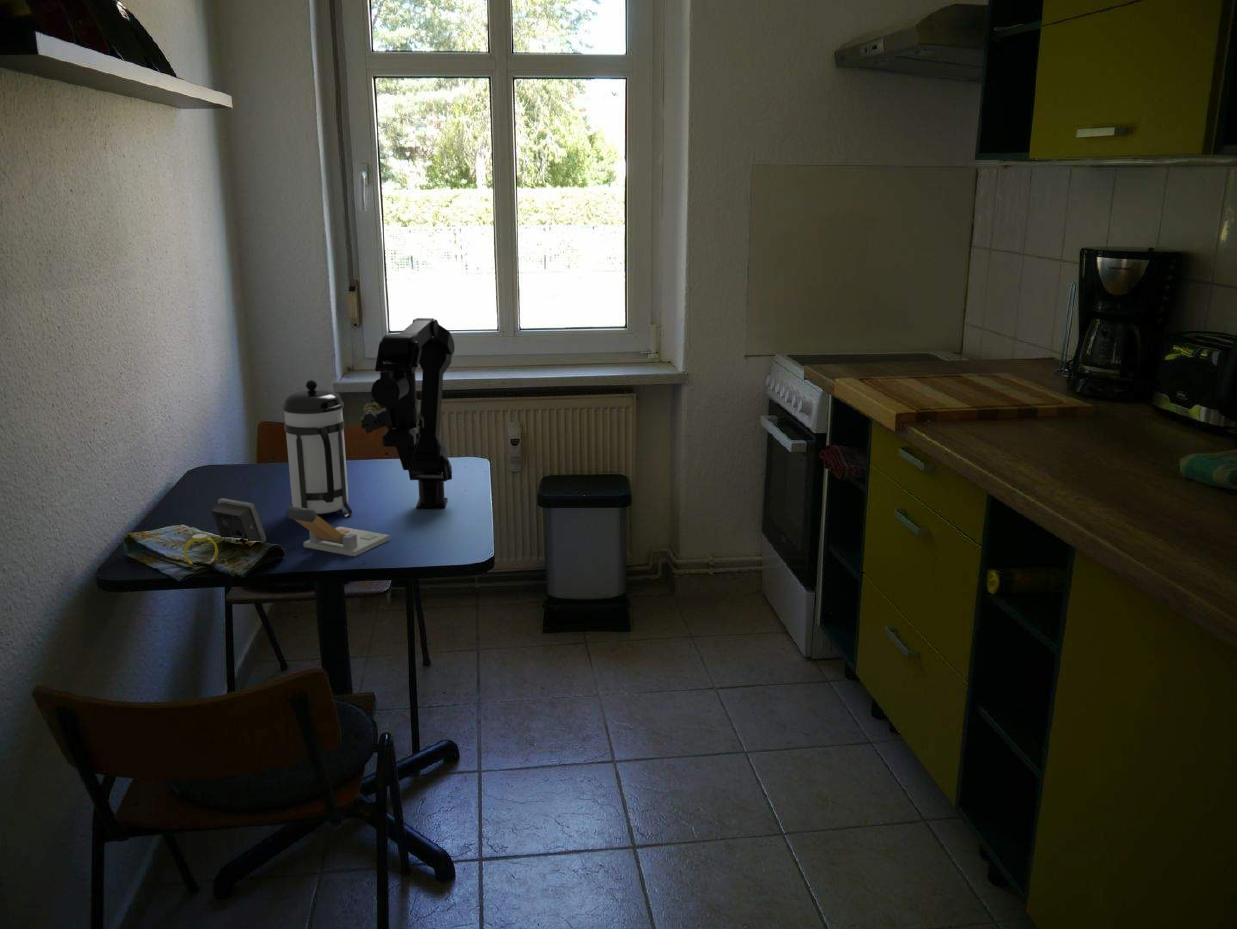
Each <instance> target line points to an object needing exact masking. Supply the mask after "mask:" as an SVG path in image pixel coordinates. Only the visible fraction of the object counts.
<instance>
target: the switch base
mask: <svg viewBox="0 0 1237 929" xmlns="http://www.w3.org/2000/svg"><path fill="white" fill-rule="evenodd" d="M334 528H335V529H336V530H337V531H339V532H340V533H341V534H345V535H346V536H344V537H343V544H338V543H332V542H327V541H321V540H319V539H318V536H316V535H315V534H313V533H312V532H311V531H309V530H308V533H309V539H308V540H305V541H303V543H302V544H303V547H304V548H307V549H308V548H309V549H313V550H318V551H319V550H320V551H325V552H329V553H334V554H339V555H344V556H345V555H346V556H349V557H350V556H351V557H356V556H358V555H361V554H363V553H366V552H367V551H370V550H371V549H373V548H376V547H377V546H380V545H382V544H384V543H385V542H388V541H390V540H391V537H390V536H391V535H389V534H384V533H380V532H379V533H378V532H373V531H367V530H362V529H358V528H357V529H356V528H350V527H346V526H338V527H334Z"/></svg>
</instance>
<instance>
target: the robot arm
mask: <svg viewBox="0 0 1237 929" xmlns="http://www.w3.org/2000/svg"><path fill="white" fill-rule="evenodd" d="M454 353H455V341H454V338H453V336H452V334H451V331H450V330H448V329H446V328H445V327H443V326H442V325H440V324H439V322H438V320H437V318H436V319H435V318H434V317H432V318H431V317H429V318H428V317H416V318H413V320H412V323H411V324H409V325H408V326H407V327H406V328H404V329H403V330H402V331H401V332H400V333H390V334H385V335H383V337H382V339H381V341H380V342H379V345H378V350H377V355H376V362H375V368H374V371H375V372H379V376H380V377H379V378H378V379H376V380H375V381H374V383H372V387H371V391H370V392H371V396H372V398H373V400H374V401H375V402H376V404H378V405H380V406H383V408H380V409H377V410H375V411H372V410H371V411H370V412H368V413H365V414H363V416H362V417H361V418H360V420H359V421H360V422H361V425H360V426H361V428H362V429H364V431H365V434H367V435H368V434H371V433H373V431H375V430H379V429H382V428H384V427H385V428H386V429H387V430H386V431H385V433H384V434H383V436H382V438H381V439H382V446H383V447H385V448H388V447H389V448H392V447H393V448H394V447H395V449H396V451H397V454H398V457H399V461H400V464H401V466H402V470H404V471H408V476H409V480H410V481H418V500H417V503H416V506H415V507H416V509H443V508H446V506H447V503H448V497H445V482H447V481H449V480H452V479H453V468H452V465H451V462H450V459H449V457H448V456H447V449H446V447H445V445H444V443H443V441H442V439H441V436H440V434H441V433H440V432H441V419H442V418H441V417H442V399H443V387H444V386H443V385H444V384H443V383H444V374H445V372H446V371H447V370H448V368H449V367H450V365H451V364H452V356H453V355H454ZM419 366H420V368H421V370H422V378H421V393H420V394H421V396H420V410H419V413H418V405H419V398H417V384H416V369H417V368H418V367H419ZM417 428H418V433H417V432H416V430H415V429H417Z"/></svg>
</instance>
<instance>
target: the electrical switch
mask: <svg viewBox="0 0 1237 929" xmlns="http://www.w3.org/2000/svg"><path fill="white" fill-rule="evenodd" d="M217 503H218V505H216V506H215V507H214V508H213V509H211V510H210V512H211V514H212V517H213V521H214V522H215V525H216V528H217V530H218V533H219V536H220V538H221V537H234V538H244V539H248V541H261V542H264V543H265V542H266V541H267V537H266V533H265V530H264V528H263V525H262V522H261V519H260V517H259V514H258V511H257V508H256V505H255V504H254V503H251V502H247V501H240V500H235V499H230V498H224V497H221V498H219V499H217Z"/></svg>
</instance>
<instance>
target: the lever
mask: <svg viewBox="0 0 1237 929" xmlns="http://www.w3.org/2000/svg"><path fill="white" fill-rule="evenodd" d="M285 516H286V517H287V518H288V519H291V520H294V521H295V522H296V523H298V524H300V526H302V527H304V528H305V529H306V530H308V532H309V531H311V532H312V533H313V534H315V535H316V536H318V539H319V540H321V541H327V542H332V543H338V544H343V537H344V536H346V535H345V534H341V533H340V532H339V531H337V530H336V529H335V528H336V527H334V526H332V525H331V524H330V523H328V522H327V521H326V520H324V519H323V518H322V517H321V516H319V514H316V512H315V510H312V509H306V508H300V507H294V506H291V505H289V507H287V508H286V513H285Z"/></svg>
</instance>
